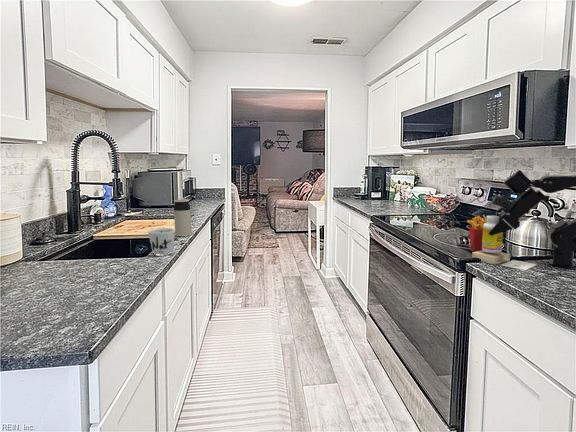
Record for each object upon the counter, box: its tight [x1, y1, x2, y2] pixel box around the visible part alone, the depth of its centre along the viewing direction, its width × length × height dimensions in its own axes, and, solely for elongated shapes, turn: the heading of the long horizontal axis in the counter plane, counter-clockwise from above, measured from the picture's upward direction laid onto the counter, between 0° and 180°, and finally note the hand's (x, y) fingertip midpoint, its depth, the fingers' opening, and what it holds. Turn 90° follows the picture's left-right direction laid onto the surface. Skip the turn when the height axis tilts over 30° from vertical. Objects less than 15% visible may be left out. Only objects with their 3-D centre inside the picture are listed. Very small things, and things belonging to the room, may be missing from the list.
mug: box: [147, 228, 175, 253], centre depth 166 cm, size 10×15×10 cm
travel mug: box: [173, 198, 192, 236], centre depth 202 cm, size 8×8×18 cm
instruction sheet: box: [501, 259, 538, 271], centre depth 141 cm, size 10×8×1 cm
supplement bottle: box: [482, 215, 504, 253], centre depth 147 cm, size 7×7×13 cm
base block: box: [471, 250, 511, 265], centre depth 148 cm, size 9×9×2 cm
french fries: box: [466, 214, 487, 252], centre depth 159 cm, size 9×8×15 cm
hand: (488, 232), depth 148 cm, fingers closed on supplement bottle, 7 cm apart
